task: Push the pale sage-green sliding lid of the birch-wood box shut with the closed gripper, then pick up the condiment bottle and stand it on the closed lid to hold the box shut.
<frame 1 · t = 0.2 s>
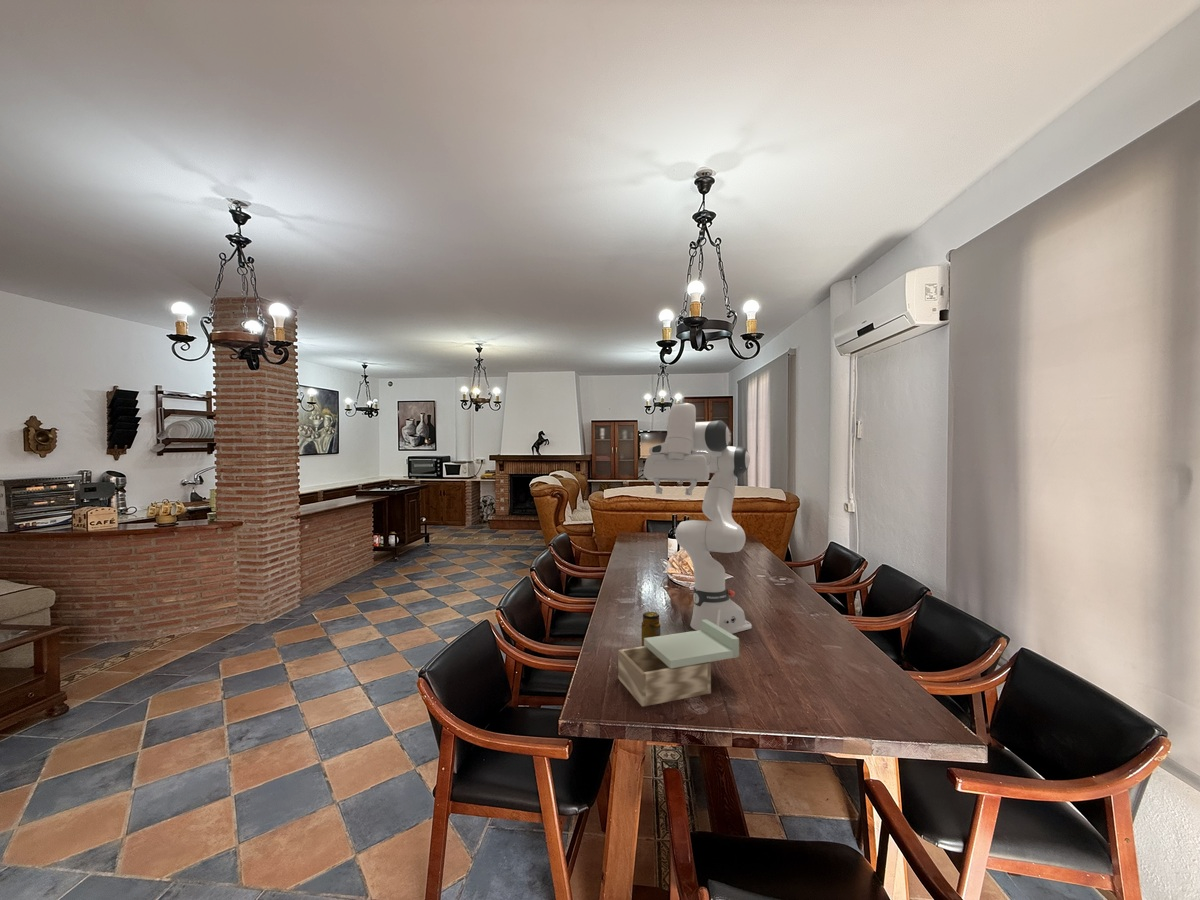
hand: (673, 494, 141), 51 cm above the table, tool tilted 20°, fingers open, 8 cm apart
condiment: (652, 653, 150), on the table
box: (663, 685, 128), on the table
lid: (690, 641, 131), point 11 cm above the table, slide at 8.0 cm
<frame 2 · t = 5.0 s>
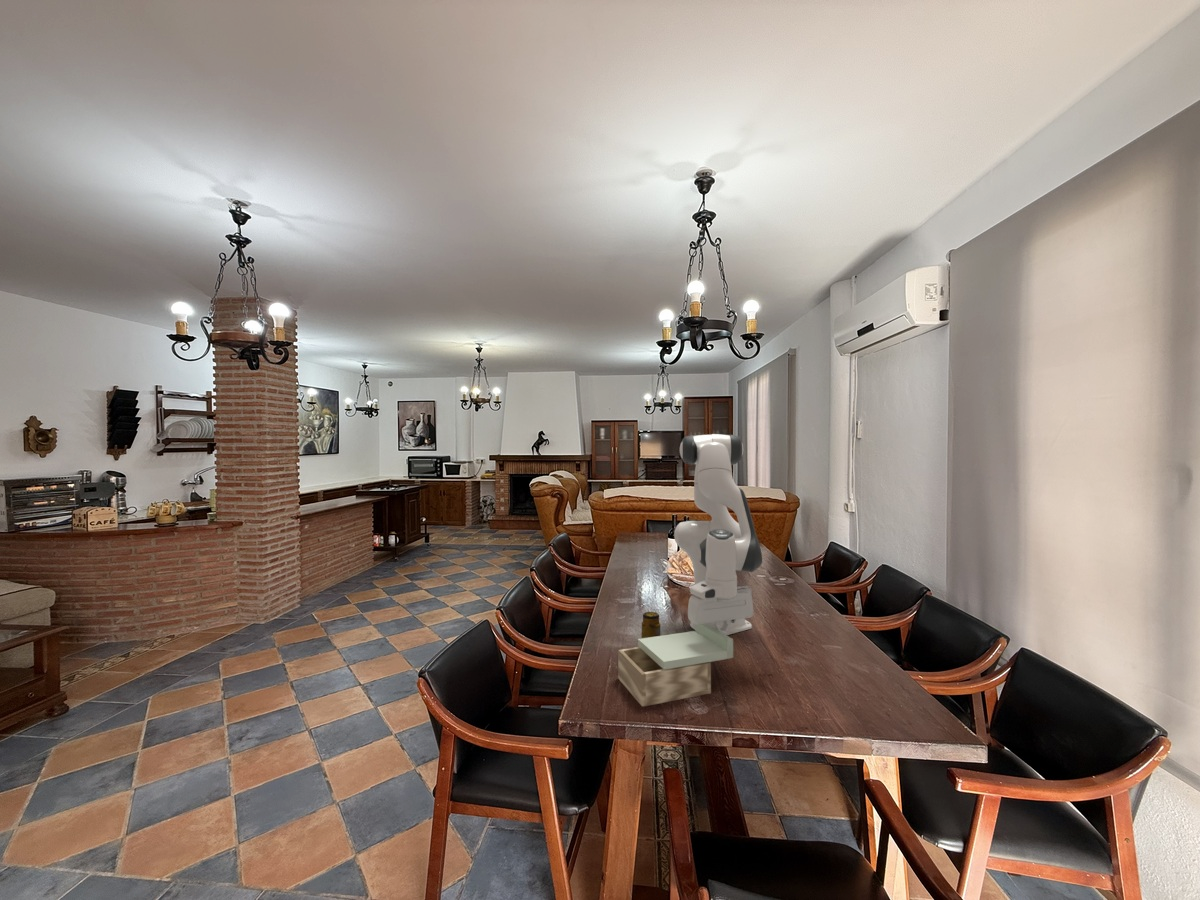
hand: (721, 635, 134), 11 cm above the table, tool pointing down, fingers closed
lid: (684, 642, 131), point 11 cm above the table, slide at 6.1 cm, touching gripper
everything else where it was.
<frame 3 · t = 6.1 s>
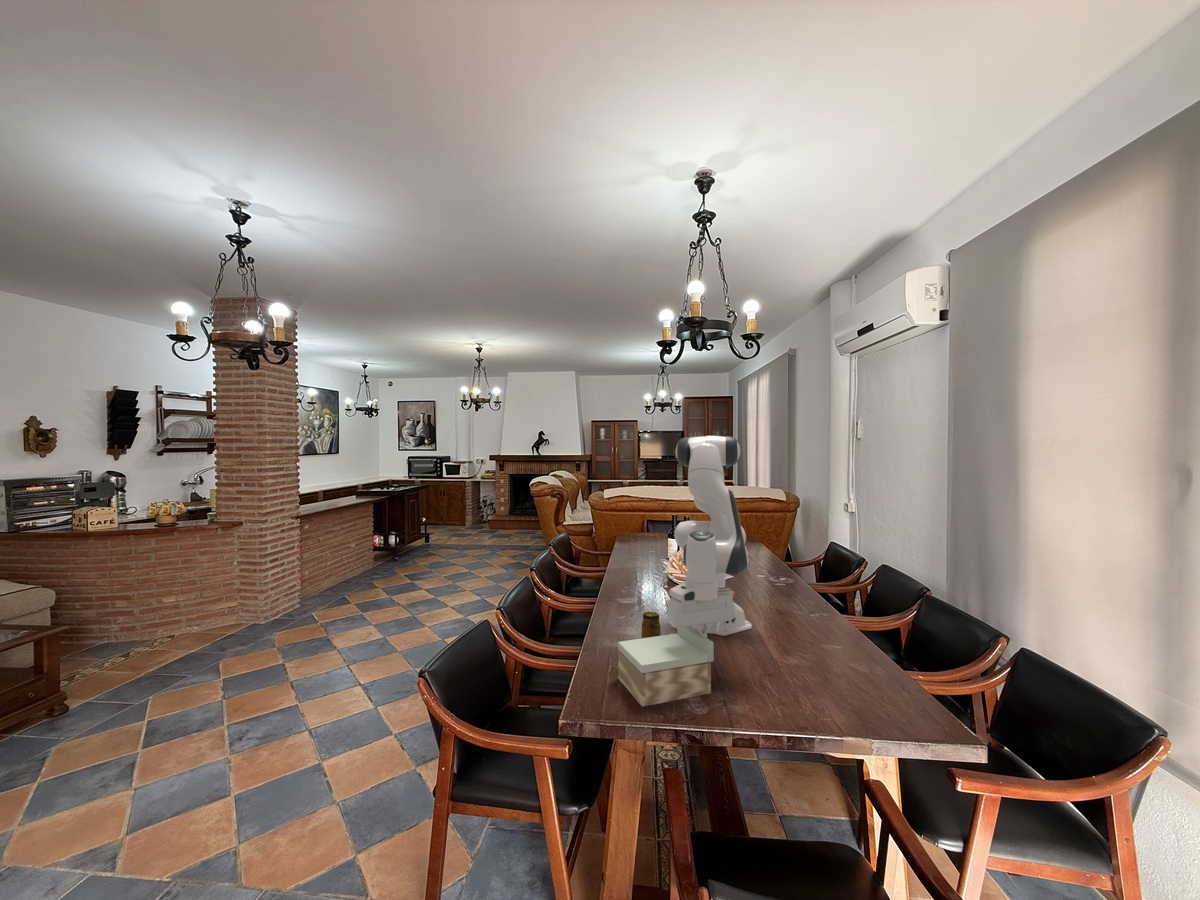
hand: (701, 638, 132), 11 cm above the table, tool pointing down, fingers closed
lid: (664, 645, 128), point 11 cm above the table, slide at -0.1 cm, touching gripper
everything else where it was.
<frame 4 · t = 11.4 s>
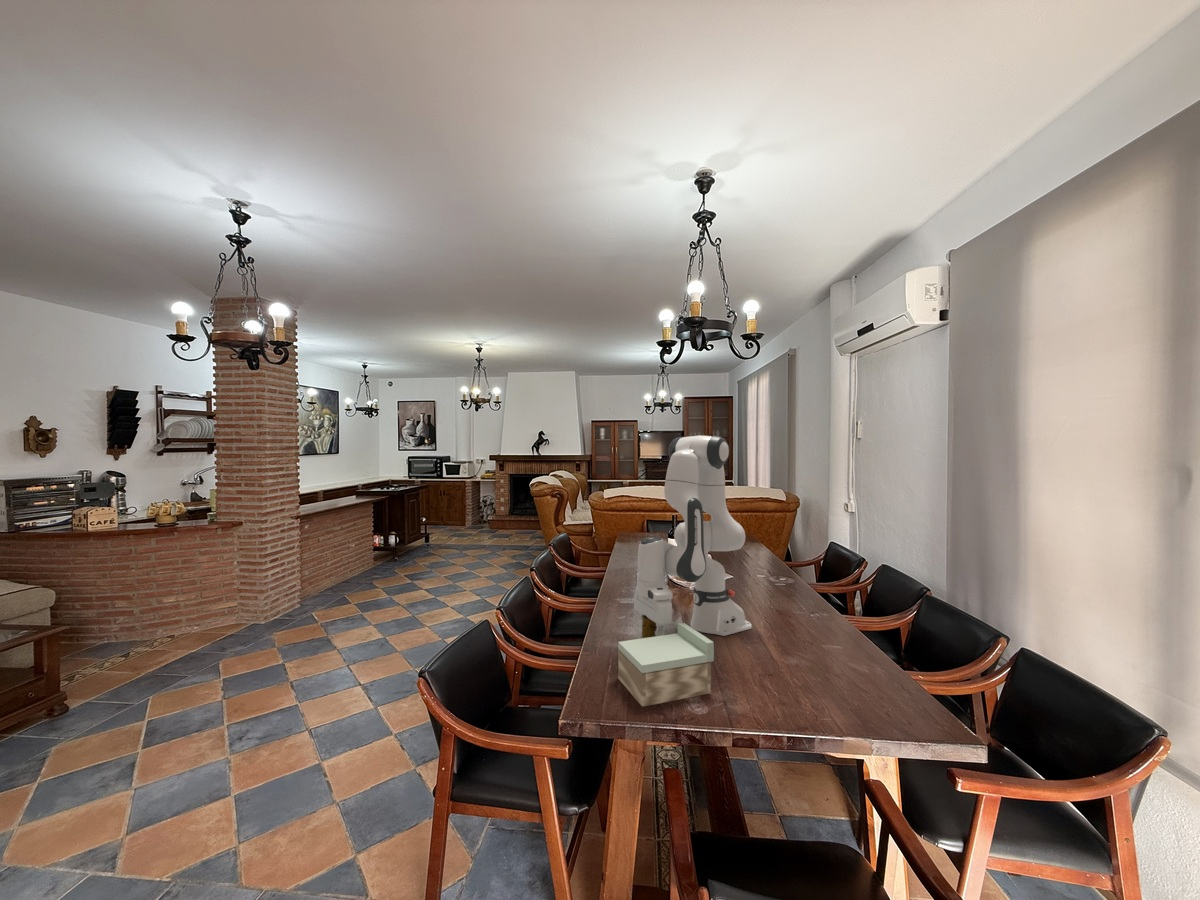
hand: (651, 631, 150), 7 cm above the table, tool pointing down, fingers open, 8 cm apart
condiment: (652, 653, 150), on the table, touching gripper
lid: (664, 645, 128), point 11 cm above the table, slide at 0.0 cm
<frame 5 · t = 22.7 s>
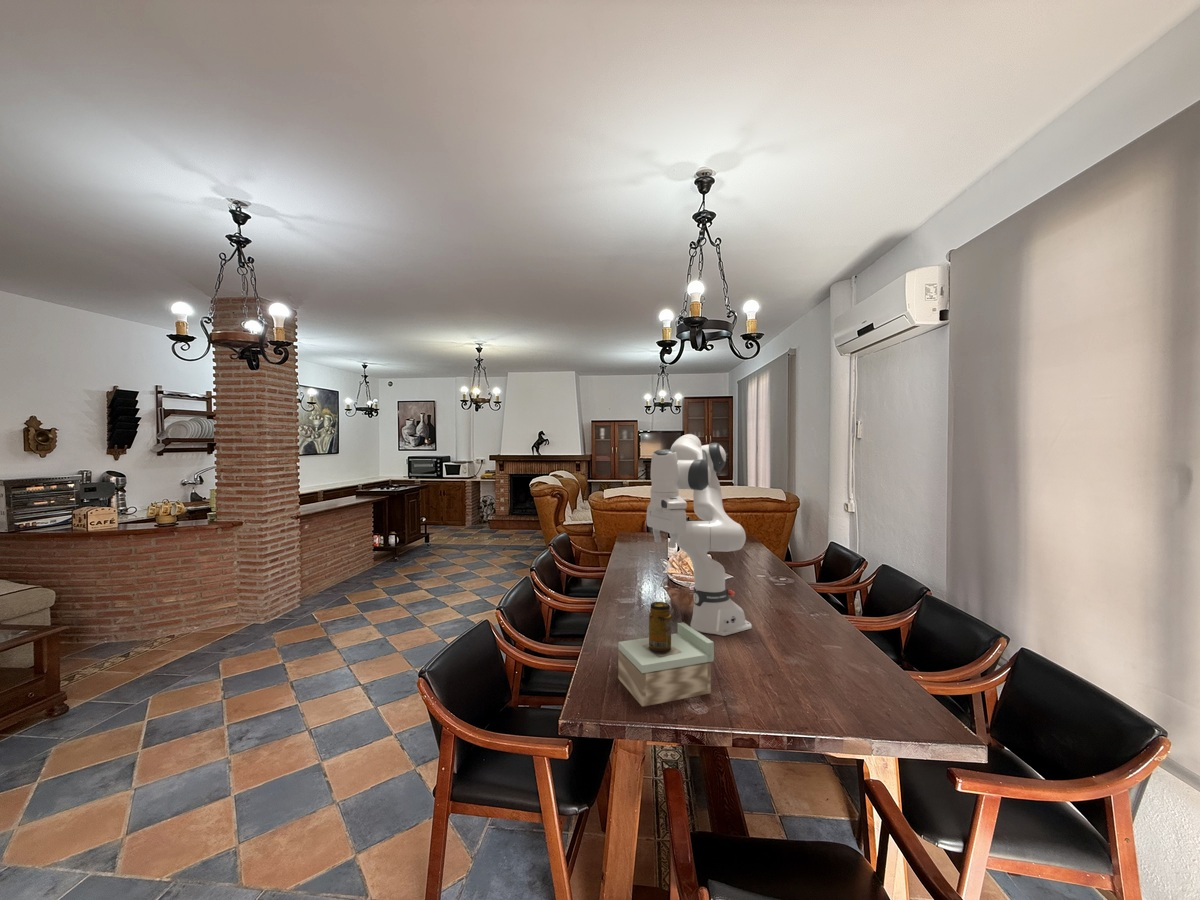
hand: (664, 544, 147), 35 cm above the table, tool pointing down, fingers open, 8 cm apart
condiment: (661, 650, 127), point 10 cm above the table, touching lid
lid: (664, 645, 128), point 11 cm above the table, slide at 0.0 cm, touching condiment
at the end: lid slide at 0.0 cm; condiment inside the target area on the box (1.1 cm from its centre), point 10.1 cm above the box's base; condiment tilted 0° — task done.
